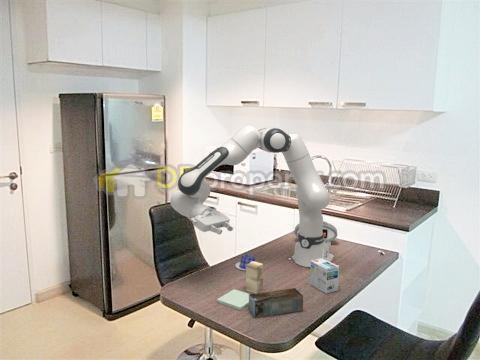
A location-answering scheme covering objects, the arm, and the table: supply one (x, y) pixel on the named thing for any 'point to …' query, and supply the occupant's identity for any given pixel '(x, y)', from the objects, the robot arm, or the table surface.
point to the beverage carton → (275, 302)
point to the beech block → (254, 277)
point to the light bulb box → (324, 275)
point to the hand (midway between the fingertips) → (226, 231)
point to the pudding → (245, 261)
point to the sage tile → (235, 299)
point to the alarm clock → (327, 229)
